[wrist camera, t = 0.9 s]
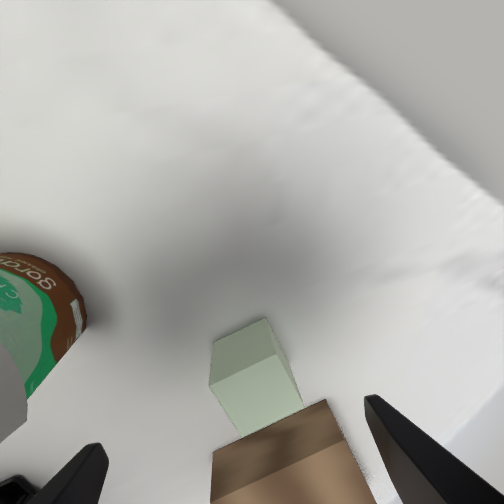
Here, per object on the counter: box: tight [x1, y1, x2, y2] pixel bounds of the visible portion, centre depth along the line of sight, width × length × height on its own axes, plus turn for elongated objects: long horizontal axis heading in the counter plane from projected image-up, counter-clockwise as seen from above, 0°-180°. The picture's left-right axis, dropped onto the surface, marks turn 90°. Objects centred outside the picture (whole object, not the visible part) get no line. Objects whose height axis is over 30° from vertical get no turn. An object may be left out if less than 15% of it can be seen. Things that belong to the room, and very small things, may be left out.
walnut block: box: [210, 399, 377, 504], centre depth 23 cm, size 12×12×4 cm
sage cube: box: [209, 318, 305, 437], centre depth 19 cm, size 5×5×5 cm
